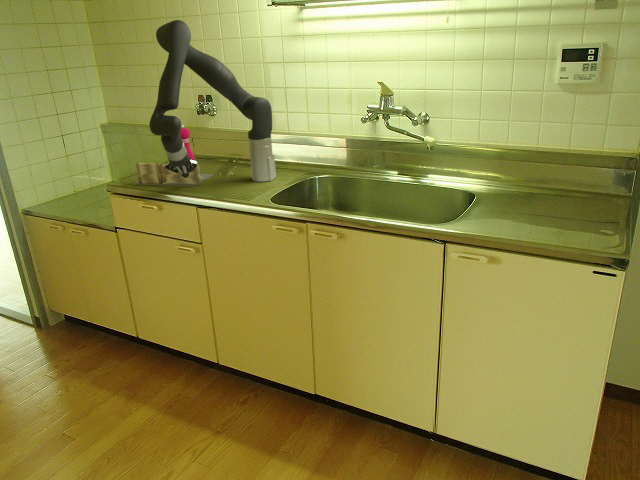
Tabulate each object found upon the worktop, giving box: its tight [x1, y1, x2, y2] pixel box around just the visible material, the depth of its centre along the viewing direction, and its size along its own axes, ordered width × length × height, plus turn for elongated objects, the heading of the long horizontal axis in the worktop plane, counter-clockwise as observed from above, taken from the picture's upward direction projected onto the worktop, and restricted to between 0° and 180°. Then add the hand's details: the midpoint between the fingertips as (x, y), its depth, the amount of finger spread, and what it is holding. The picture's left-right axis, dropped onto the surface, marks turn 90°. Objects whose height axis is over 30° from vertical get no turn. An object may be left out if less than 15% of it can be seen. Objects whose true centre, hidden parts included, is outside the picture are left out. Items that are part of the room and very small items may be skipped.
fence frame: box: [135, 161, 163, 184], centre depth 227 cm, size 11×2×9 cm, turn 74°
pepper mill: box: [181, 124, 196, 161], centre depth 250 cm, size 7×7×20 cm
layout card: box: [133, 173, 214, 188], centre depth 233 cm, size 28×18×1 cm, turn 74°
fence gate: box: [160, 163, 202, 185], centre depth 223 cm, size 17×2×8 cm, turn 74°
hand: (185, 175), depth 219 cm, fingers closed
